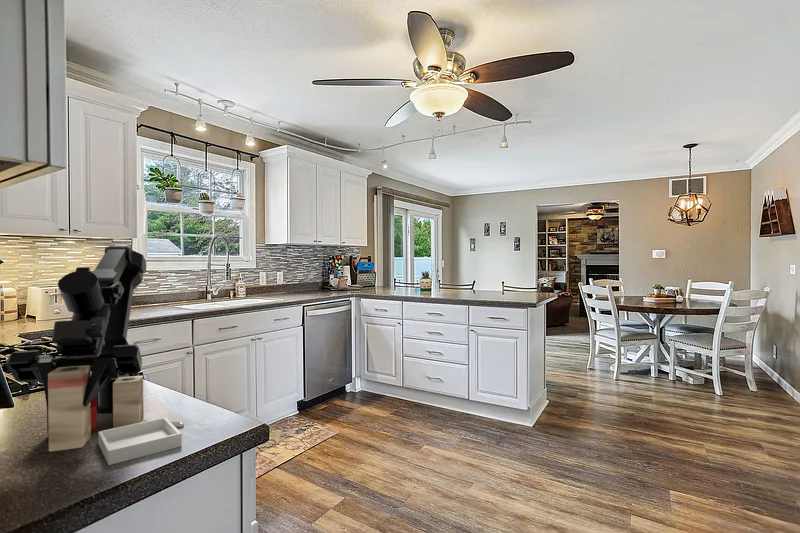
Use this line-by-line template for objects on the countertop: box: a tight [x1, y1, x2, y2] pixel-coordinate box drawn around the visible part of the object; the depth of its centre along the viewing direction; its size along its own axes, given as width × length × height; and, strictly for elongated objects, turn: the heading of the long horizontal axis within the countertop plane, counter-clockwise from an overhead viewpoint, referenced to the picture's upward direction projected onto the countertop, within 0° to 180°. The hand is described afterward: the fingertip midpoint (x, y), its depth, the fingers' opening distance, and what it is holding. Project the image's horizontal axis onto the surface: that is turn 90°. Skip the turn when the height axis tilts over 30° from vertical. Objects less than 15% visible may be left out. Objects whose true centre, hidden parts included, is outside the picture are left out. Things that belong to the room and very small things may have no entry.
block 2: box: [112, 375, 145, 429], centre depth 90 cm, size 4×4×9 cm
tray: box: [97, 417, 183, 466], centre depth 79 cm, size 11×11×2 cm
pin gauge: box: [142, 419, 185, 429], centre depth 88 cm, size 9×1×1 cm, turn 84°
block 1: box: [48, 365, 92, 452], centre depth 73 cm, size 4×4×13 cm
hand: (67, 406), depth 72 cm, fingers closed on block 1, 4 cm apart
